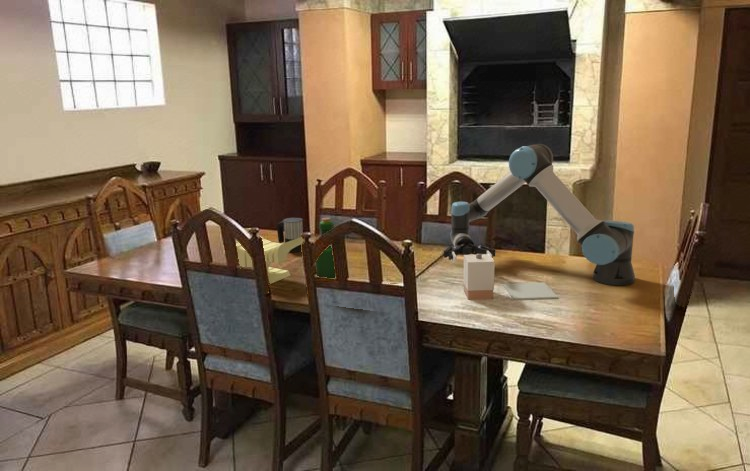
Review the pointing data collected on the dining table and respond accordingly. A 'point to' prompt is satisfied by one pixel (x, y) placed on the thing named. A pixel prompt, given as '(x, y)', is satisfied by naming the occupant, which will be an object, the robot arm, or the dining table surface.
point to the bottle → (325, 253)
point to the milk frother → (290, 231)
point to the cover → (478, 272)
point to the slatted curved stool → (269, 256)
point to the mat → (529, 291)
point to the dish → (478, 294)
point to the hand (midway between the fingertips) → (473, 259)
